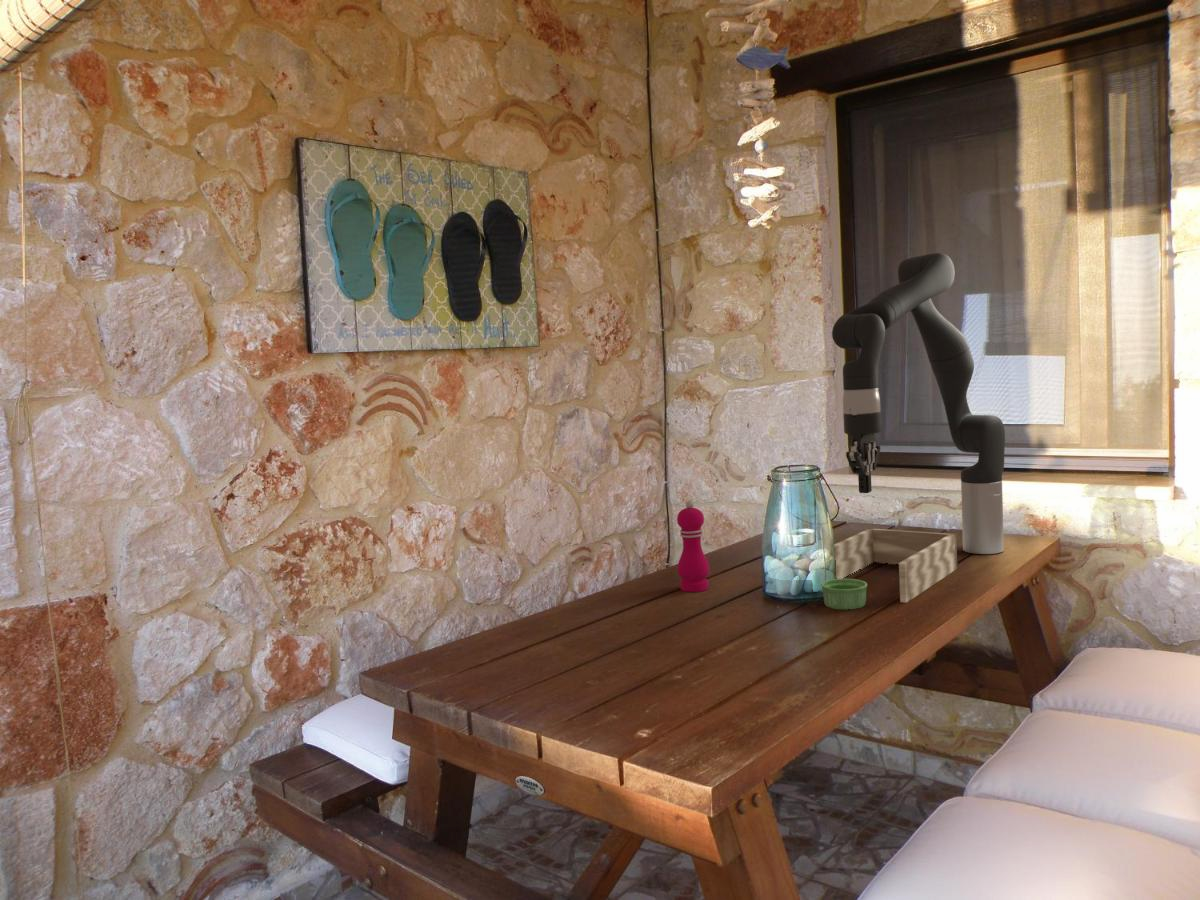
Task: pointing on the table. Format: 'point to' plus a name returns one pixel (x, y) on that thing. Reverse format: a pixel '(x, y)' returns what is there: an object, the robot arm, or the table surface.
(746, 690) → the table surface
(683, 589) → the pepper mill
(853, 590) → the ramekin
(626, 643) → the table surface
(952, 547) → the wooden c-shaped frame
